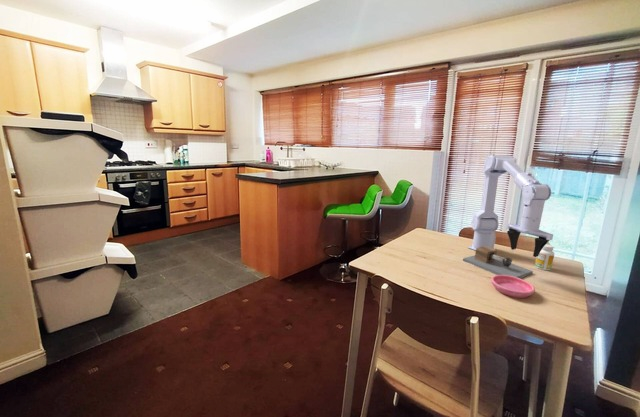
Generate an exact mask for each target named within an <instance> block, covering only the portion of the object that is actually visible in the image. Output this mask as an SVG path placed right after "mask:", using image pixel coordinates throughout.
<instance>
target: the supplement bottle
mask: <svg viewBox="0 0 640 417" xmlns="http://www.w3.org/2000/svg"><path fill="white" fill-rule="evenodd" d="M554 247H555V246H554V245H552V244H548V243H547V244H546V245H545V246H544V247H543V248H542V250H541V251H540V253H539V255H538V256H537V257H535V263H534V267H535V268H537V269H538V270H541V271H551V270H552V266H553V263H554V260H555V259H554V258H555V252H554Z"/></svg>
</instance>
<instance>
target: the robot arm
mask: <svg viewBox="0 0 640 417" xmlns="http://www.w3.org/2000/svg"><path fill="white" fill-rule="evenodd" d="M507 173H508V174H509V175H510V176H511V177H513V178H514V184H515V185H516V186H517V187H518V188H519V189H520V190H521V194H522V203H523V210H522V215H521V218H520V225H518V224H513V223H507V224H506V227H505V228H506V230H507V231H506V234H507V235H508V239H509V242H510V250H512V251H513V250H517V247H518V240H519V237H520V235H521V234H526V235H529V236H535V237H536V238H534V248H533V254H532V257H534V258H536V257H537V256H538V255H539V253H540V251H541V250H542V248H543V247H544V246H545V245H546V244H548V242H550V241H552V240H553V237H554V233H549V232H546V231H543V230H540V225H541V222H542V217H543V212H544V206H545V203H546V201H547V200H549V199H550V197H552V189H551V186H550V185H549V184H547V183H541V182H540V181H539V180H538V179H536V178H535V177H534V176H533V173H532V172H528V171H523V169H522V168H521V167H520V166H519V165H518V164H517V159H516V158H515V156H513V155H494V154H493V155H492V154H489V155H488V156H487V157H486V159H485V160H484V164H483V174H484V182H483V189H482V196H481V197H482V198H481V205H480V210H478V211H476V212H475V213H474V214H473V217H472V220H471V229H472V230H473V231H474V232H473V233H474V234H473V240H472V244H471V245H470V246H467V248H468V249H470V250H474V251H476V248H479V247H483V246H487V247H490V248H493V249H495V243H496V233H495V232H496V231H497V230H498V229H499V226H500V224H499V216H498V214H497V213H496V212H494V210H495V205H496V204H495V203H496V198H497V191H498V182H499V178H500V176H502V175H504V174H507ZM495 250H497V249H495Z"/></svg>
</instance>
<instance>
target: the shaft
mask: <svg viewBox="0 0 640 417" xmlns="http://www.w3.org/2000/svg"><path fill="white" fill-rule="evenodd" d="M489 258H490V259H492V260H495V261H498V262H501V263H503V265H504V266H506V267H509V266H510V265H511V263H512V261H513V260H512V258H510V257H502V256H500V255H497V254H496V255H494V254H492V253H490V255H489ZM512 264H513V263H512Z"/></svg>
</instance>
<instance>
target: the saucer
mask: <svg viewBox="0 0 640 417" xmlns="http://www.w3.org/2000/svg"><path fill="white" fill-rule="evenodd" d="M490 281H491V284H492V286H493V287H494V288H495V290H497V291H498V293H499V292H500V293H501V294H503V295H504V296H509V297H511V298H515V299H516V298H517V299H525V298H528V297H530V296H532V295H533V294H534V293H535V291H536V287H535V286H534V285H533V284H532V283H531V282H529V281H527V280H525V279H522V278H517V277H513V276H509V275H497V274H494V275H493V276H491V279H490Z"/></svg>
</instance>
